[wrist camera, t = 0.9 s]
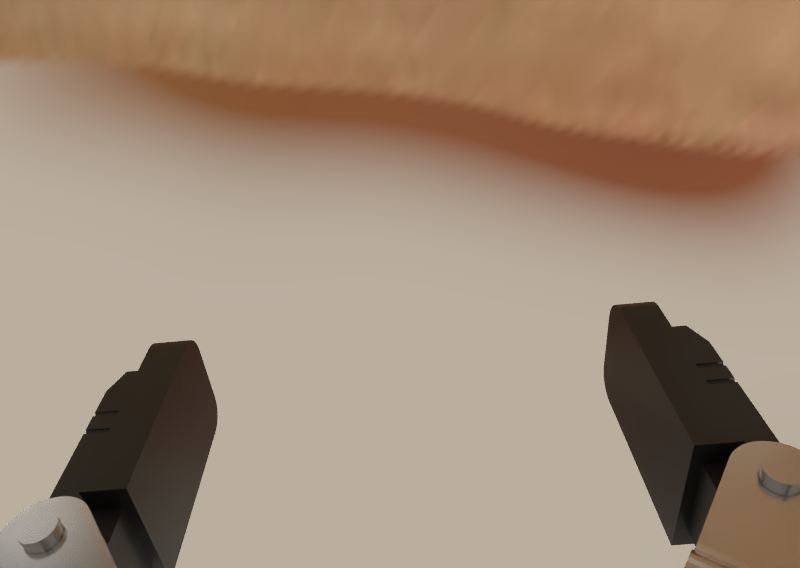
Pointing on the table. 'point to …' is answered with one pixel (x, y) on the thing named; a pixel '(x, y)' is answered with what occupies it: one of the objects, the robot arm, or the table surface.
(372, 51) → the table surface
